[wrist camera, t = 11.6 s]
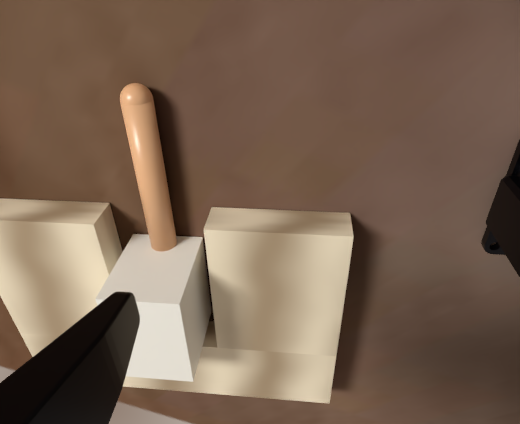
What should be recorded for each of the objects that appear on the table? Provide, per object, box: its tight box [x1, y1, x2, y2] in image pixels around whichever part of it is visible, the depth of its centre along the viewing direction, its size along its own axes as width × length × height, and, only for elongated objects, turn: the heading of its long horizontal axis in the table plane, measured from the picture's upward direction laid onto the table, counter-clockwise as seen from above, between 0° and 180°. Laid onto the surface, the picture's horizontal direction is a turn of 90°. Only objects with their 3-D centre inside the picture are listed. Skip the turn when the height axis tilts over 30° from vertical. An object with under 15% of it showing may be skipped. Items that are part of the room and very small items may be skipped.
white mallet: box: [95, 83, 211, 382], centre depth 20 cm, size 4×15×5 cm, turn 1°
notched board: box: [0, 198, 354, 403], centre depth 25 cm, size 20×14×2 cm
